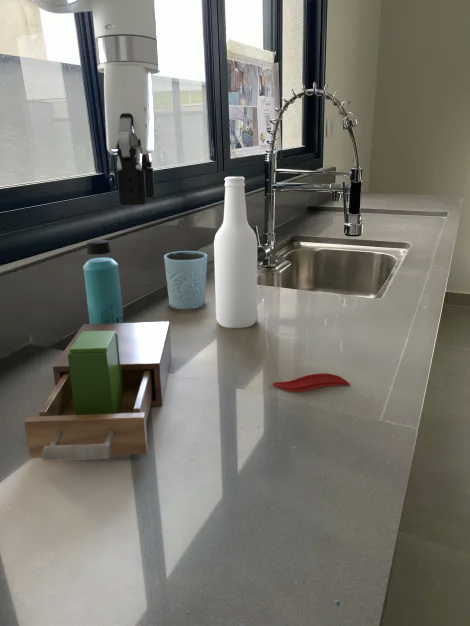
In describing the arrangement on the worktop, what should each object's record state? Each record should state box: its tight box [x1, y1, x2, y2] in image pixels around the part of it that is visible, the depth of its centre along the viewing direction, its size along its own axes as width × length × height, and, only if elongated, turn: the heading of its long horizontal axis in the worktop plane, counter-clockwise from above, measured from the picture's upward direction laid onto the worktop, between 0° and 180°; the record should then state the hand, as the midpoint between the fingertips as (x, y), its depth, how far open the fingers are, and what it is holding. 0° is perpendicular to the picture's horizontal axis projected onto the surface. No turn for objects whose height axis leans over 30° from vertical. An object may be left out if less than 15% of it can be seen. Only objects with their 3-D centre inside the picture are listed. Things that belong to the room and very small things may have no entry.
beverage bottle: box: [82, 239, 126, 324], centre depth 92 cm, size 6×7×20 cm
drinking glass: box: [163, 250, 208, 310], centre depth 117 cm, size 10×10×12 cm
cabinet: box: [52, 321, 172, 408], centre depth 79 cm, size 18×15×7 cm
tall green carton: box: [68, 331, 124, 415], centre depth 64 cm, size 5×8×10 cm, turn 3°
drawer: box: [23, 369, 154, 462], centre depth 63 cm, size 21×14×5 cm, turn 3°
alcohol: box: [213, 176, 258, 329], centre depth 101 cm, size 9×9×30 cm
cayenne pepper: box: [272, 372, 351, 393], centre depth 77 cm, size 12×5×2 cm, turn 83°
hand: (138, 200), depth 66 cm, fingers open, 9 cm apart
